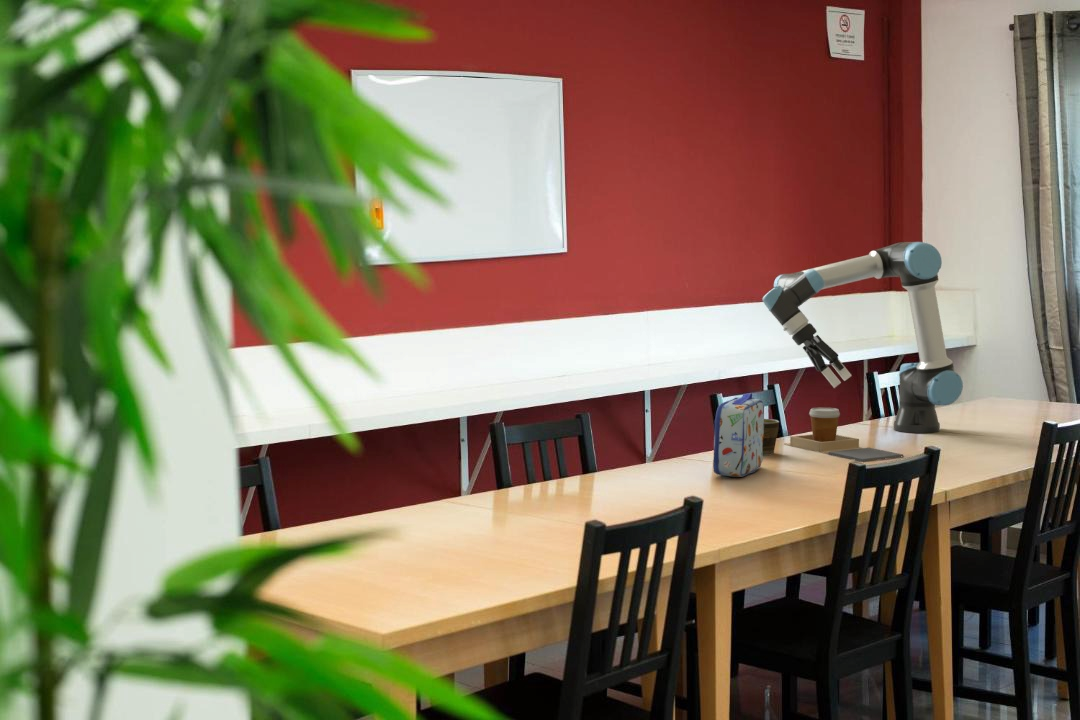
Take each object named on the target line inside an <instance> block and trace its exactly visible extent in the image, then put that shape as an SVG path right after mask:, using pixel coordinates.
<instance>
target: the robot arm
mask: <svg viewBox="0 0 1080 720" xmlns="http://www.w3.org/2000/svg"><path fill="white" fill-rule="evenodd" d="M941 268H942V256H941V253H940V252H939V250H938V249H937V248H936V247H935V246H934V245H933V244H930V243H928V242H923V241H904V242H903V241H902V242H897V243H894V244H891V245H887V246H883V247H882V248H881V247H880V248H877V249H875V250H871V251H870V252H869V253H868V254H866V255H863V256H859V257H854V258H850V259H846V260H842V261H838V262H833V263H828V264H825V265H822V266H817V267H813V268H808V269H805V270H801V271H797V272H791V273H783V274H779V275H777V277H775V280H774V282H773V288H772V289H771V290H769V291H768V292H767V293H766V294H765V295H763V297H762V302H763V304H764V305H765V307H766V308H767V309H768V312H770V313H771V315H773V317H775V319H776V320H777V322H778V323H779V324H780V325H781V326H782V327H783V332H786V333H787V334H788V335H789V336H791V339H792V340H793V342H794V343H795V344H796V345H797V346H801V345H802V344H804V345H803V347H802V350H804V352H805V353H806V354H807V356H808V358H809V360H810V361H811V364H813V366H814V368H815V370H816V371H817V372H820V373H821V374H822V375H823V376H824V377H825V379H826V380H827V381H828V383H829V384H830V385H831V386H832V387H833V389H836V388H837V387H838V386H839V385H840V384H841V383H842V382H841V380H840V379H839V378H838V376H836V374H834V372H833V371H832V369H831V368H830V367H829V365H830V366H832V367H833V369H835V371H836V372H837V374H838V375H839V376H840V378H841V379H842V380H843V381H844V382H845V381H847V380H848V379H849V378H851V377H852V373H851V372H850V371H849V370H848V369H847V368H846V366H845V365H844V364H843V363H842V362H841V360H840V359H839V354H838V353H837V352H836V351H835V350H834V349H833V348H832V347H831V346H829V344H828V343H826V342H825V341H824V340H823V339H822V338H821V337H820V336H819V334H816V333H818V332H817V329H816V328H815V327H814V325H813V324H812V323H810V322H809V319H808V318H807V316H806V315H805V314H804V313H803V312H802V311H801V309H800V306H801V305H803V304H805V303H806V302H807V301H808V300H810V299H811V298H813V297H814V296H815V295H816V294H818V293H819V292H820V291H821V290H824V289H829V288H833V287H836V286H842V285H847V284H849V283H854V282H858V281H862V280H867V279H870V278H875V279H877V280H879V279H883V278H895V277H896V278H900V283H901V287H902V288H903V289H905V290H906V291H907V295H908V301H909V306H910V312H911V316H912V323H913V329H914V334H915V340H916V347H917V352H918V357H919V362H909V363H907V362H906V363H902V364H901V365H900V368H899V374H898V375H899V392H898V393H899V397H898V398H899V403H898V410H897V414H896V418H895V420H894V421H893V430H894V431H896V432H904V433H914V434H925V433H926V434H928V433H931V434H932V433H937V432H939V431H941V424H940V421H939V419H938V418H939V417H938V414H937V411H936V406H949V405H951V404H953V403H955V402H956V401H957V400H958V399H959V397H960V396H961V395H962V393H963V388H964V383H963V379H962V377H961V376H960V374H958V373H957V372H956V371H955V368H954V362H953V360H952V359H950V358H949V357H948V355H947V349H946V345H945V338H944V332H943V326H942V321H941V316H940V310H939V304H938V299H937V292H936V287H935V286H936V284H937V283H938V281H939V276H938V274H939V272H940V269H941ZM815 334H816V335H815ZM814 335H815V336H814ZM823 358H824V359H826V360H827V361H828V363H829V364H827V363H826V362H825V360H824V359H823Z"/></svg>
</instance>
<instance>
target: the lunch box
mask: <svg viewBox="0 0 1080 720" xmlns="http://www.w3.org/2000/svg"><path fill="white" fill-rule="evenodd" d="M764 408H765V407H764V402H763V400H762V399H760V398H754V397H753V392H750V393H748V392H747V393H743V395H742V396H739V397H737V396H736V397H734V398H732V399H730V400H727V401H724V402H722V403H720V404H719V405H718V406H717V409H716V410H715V411H716V413H715V416H714V417H715V419H714V437H713V439H714V440H713V460H712V461H713V462H712V463H713V464H712V465H713V466H712V467H713V472H714V474H716V475H719V476H727V477H736V478H743V477H744V476H747V475H749V474H751V473H755V472H756V471H757V470H758V469H759V468H760V467H762V466H761V465H762V463H763V457H764V455H763V449H762V445H763V434H764V419H765V416H764V415H765V413H764V412H765V411H764V410H765V409H764Z"/></svg>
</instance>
